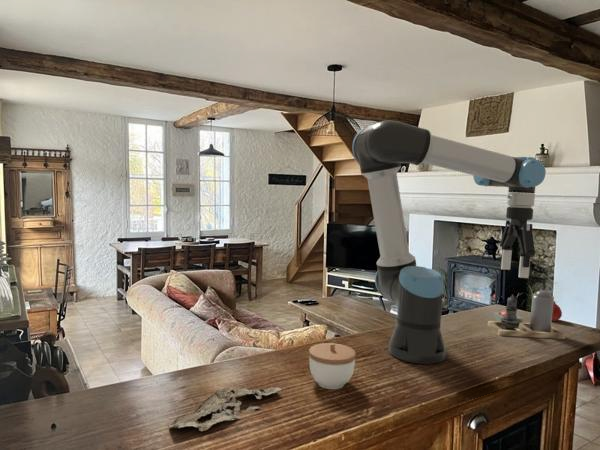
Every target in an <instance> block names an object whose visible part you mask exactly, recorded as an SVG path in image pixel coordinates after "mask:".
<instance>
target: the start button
mask: <svg viewBox="0 0 600 450" xmlns="http://www.w3.org/2000/svg"><path fill="white" fill-rule="evenodd" d="M500 312H501V316H503V317H505V315H506V310H502V311H500Z"/></svg>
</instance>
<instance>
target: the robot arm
mask: <svg viewBox="0 0 600 450" xmlns="http://www.w3.org/2000/svg"><path fill="white" fill-rule="evenodd" d="M351 148H352V149H351V150H352V154H353V157H354V158H355V160H356V161H357V162H358V163H359V168H360V175H362V176H363V177H365V179H367V185H368V190H369V196H370V197H369V198H370V203H371V208H372V215H373V221H374V226H375V232H376V238H377V244H378V250H379V255H380V256H379V258H378V259H377V261H376V268H377V271H376V272H375V276H374V283H375V288H376V290H377V291H378V293H379V294H380V295H381V296H382V297H383V298H384V299H385V300H387V301H389V302H391V303H392V304H394V305H396V307H397V314H396V325H395V327H394V329H393V331H392V335H391V337H390V339H389V343H388V353H389V354H390V355H391V356H393V357H394V358H396V359H399V360H401V361H403V362H407V363H414V364H420V365H432V364H433V365H434V364H439V363H441V362H443V361H444V360H445V358H446V350H447V349H446V346H445V342H444V339H443V334H442V330H441V323H442V322H441V321H442V312H443V311H442V310H443V309H442V308H443V296H444V295H443V294H444V290H445V287H444V278H443V276H442V274H441V272H438V271H436V270H435V269H432V268H427V267H425V266H419V265H418V266H417V260H416V256H414V255H413V254H412V253H410V249H409V245H408V244H409V243H408V238H407V231H406V225H405V218H404V212H403V206H402V199H401V193H400V187H399V180H398V173H399V171H400V170H401V168H402V166H401V165H402V164H411V165H415V166H420V165H422V164H427V165H431V166H435V167H438V168H443V169H446V170H451V171H455V172H458V173H463V174H467V175H471V176H472V177H473V180H474V183H475V184H476V185H477V186H482V187H500V188H501V187H502V188H508V192H507V193H508V194H507V196H506V199H507V205H508V206H507V207H506V214H505V217H506V219H508V220H506V221H505V227H504V230H503V233H502V237H501V239H500V243H499V246H500V247H501V250H502V253H501V264H500V269H501V270H508V271H510V270H511V263H512V253H513V246H514V243H515V241H516V239H517V240H518V244H519V248H520V252H521V253H520V254H519V257H520V258H519V266H518V278H521V279H530V278H529V277H530V268H531V267H530V266H531V258H532V257H533V256H534V257H535V256H536V250H535V249H536V248H535V243H534V241H535V240H534V235H533V223H528V221H532V220H533V217H534V208H533V207H534V206H535V197H536V193H535V192H536V187H537V186H539V185H541V184H542V183H543V182H544V180H545V178H546V172H547V171H546V167H545V165H544V164H543V163H542V161H540V160H538V159H537V158H536V157H533V156H511V155H508V154H504V153H501V152H496V151H492V150H489V149H486V148H481V147H478V146H473V145H472V144H471V145H470V144H466V143H462V142H460V141H455V140H451V139H449V138H444V137H442V136H441V137H440V136H437V135H433V134H432V132H431V131H430V130H429V129H426V128H422V127H419V126H416V125H413V124H408V123H405V122H402V121H398V120H392V119H391V120H390V119H386V120H382V121H379V122H377V123H372V124H369V125H366V126H365V127H363V128H362V129H360V130H359V131H358V132H357V133H356V135H355V136H354V137H353V141H352V147H351Z"/></svg>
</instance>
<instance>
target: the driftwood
mask: <svg viewBox="0 0 600 450" xmlns="http://www.w3.org/2000/svg"><path fill="white" fill-rule="evenodd" d="M282 390H283V388H282V387H279V386H275V387H274V386H271V387H268V388H267V389H266V388H264V389H263V388H255V389H247V388H243V389H242V388H241V389H240V388H239V389H238V388H233V387H229V388H223V389H222V388H219V389H218V390H217V391H215V393H214V394H212V395H210V396H209V397H208V398H207V399H206V400H204V401H203V402H202V403H201V404H200V405H199V406H198V407H197V409H196V410H195V411H194V412H191V413H186V414H183V415H181V416H177V418H176V419H175V420H173V422H172V423H171V427H170V426H169V425H167V428H169V430H172V429H174V428H175V429H182V428H186V427H194V428H197V429H198V430H199V431H200V432H206V431H208V430H209V429H210V428H212V426H215V425H216V424H218V423H221V422H224V421H236V420H239V419H238V418H239V417H238V418H237V417H236V415H235V414H238V415H241V414H243V413H252V412H253V411H254V412H256V409H260V410H262V407H260V406H259V405H248V406H246V407H245V408H244V411H243V413H242V411H241V407H240V406H241V405H242V401H240V400H237V399H236V397H235V396H232V394H237V395H238V396H245V395H254V396H255V398H256V399H257V400H261V399H262V398H263V397H262V396H269V395H271V394H275V393H277V392H279V391H282ZM231 396H232V397H231ZM228 407H231V408H232V410H231V409H229V408H228ZM254 412H253V413H254ZM209 414H211V419H209V420H206V421H204V422H201V421H198V419H201V417H205V416H207V415H209Z"/></svg>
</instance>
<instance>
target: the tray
mask: <svg viewBox="0 0 600 450" xmlns="http://www.w3.org/2000/svg"><path fill="white" fill-rule="evenodd" d="M487 326H488V327H489V328H490V329H491V330H492V331H494V333H496V334H497V335H499V336H502V337H503V336H505V337H507V336H508V337H527V338H541V339H542V338H544V339H545V338H546V339H560V340H562V339H563V340H565V339H566V333H564V332H563V331H561V330H560V329H559V328H556V327H555V326H553V325H552V324H551V332H537V331H532V330H531V329H530V322H522V323H519V326H518V327H517V328H514V329H516V330H502V329H501V328H503V327H504V326H503V324H502V322H501V321H497V320H496V321H495V320H488V321H487Z"/></svg>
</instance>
